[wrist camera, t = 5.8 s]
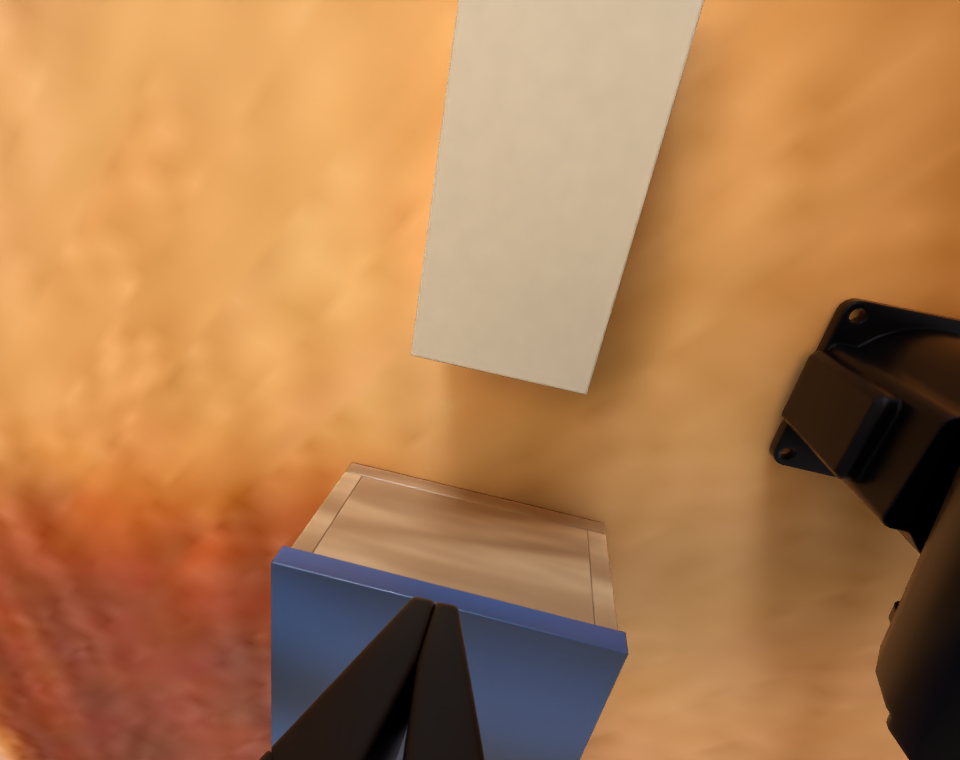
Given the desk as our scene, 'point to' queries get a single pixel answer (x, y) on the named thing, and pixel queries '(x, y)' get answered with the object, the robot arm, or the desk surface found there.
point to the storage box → (466, 543)
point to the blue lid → (488, 643)
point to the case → (544, 178)
